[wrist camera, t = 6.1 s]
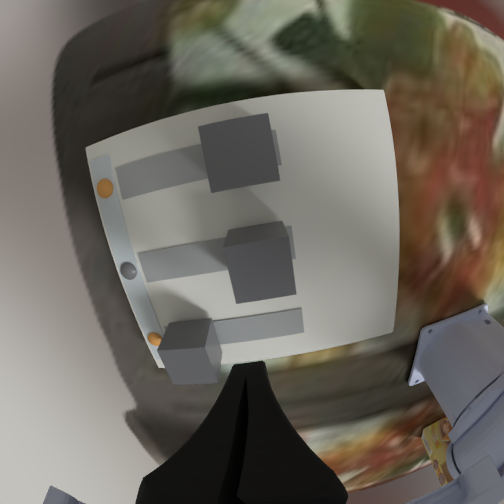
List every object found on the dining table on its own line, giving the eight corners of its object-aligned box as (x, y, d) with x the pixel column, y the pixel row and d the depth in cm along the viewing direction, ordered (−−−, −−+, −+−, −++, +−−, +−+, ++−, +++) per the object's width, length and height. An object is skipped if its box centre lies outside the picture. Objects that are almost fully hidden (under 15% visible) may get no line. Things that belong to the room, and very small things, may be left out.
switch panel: (371, 95, 14) (385, 89, 12) (384, 319, 20) (394, 333, 18) (100, 147, 16) (83, 147, 14) (164, 353, 21) (158, 369, 19)
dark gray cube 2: (282, 220, 15) (288, 236, 12) (289, 269, 16) (296, 294, 13) (228, 229, 15) (222, 247, 12) (239, 278, 16) (236, 303, 13)
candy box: (420, 438, 29) (448, 508, 14) (422, 427, 27) (454, 504, 13) (464, 412, 28) (498, 475, 13) (468, 400, 26) (507, 467, 12)
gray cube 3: (265, 121, 13) (268, 112, 10) (274, 175, 14) (280, 180, 11) (209, 132, 13) (197, 126, 11) (219, 185, 14) (211, 193, 12)
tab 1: (211, 317, 17) (204, 347, 14) (222, 352, 18) (218, 382, 15) (169, 322, 17) (156, 350, 15) (182, 355, 18) (173, 384, 16)
